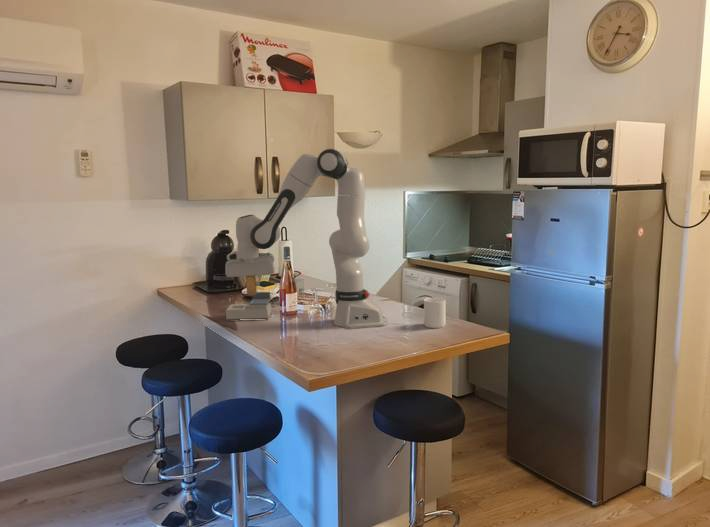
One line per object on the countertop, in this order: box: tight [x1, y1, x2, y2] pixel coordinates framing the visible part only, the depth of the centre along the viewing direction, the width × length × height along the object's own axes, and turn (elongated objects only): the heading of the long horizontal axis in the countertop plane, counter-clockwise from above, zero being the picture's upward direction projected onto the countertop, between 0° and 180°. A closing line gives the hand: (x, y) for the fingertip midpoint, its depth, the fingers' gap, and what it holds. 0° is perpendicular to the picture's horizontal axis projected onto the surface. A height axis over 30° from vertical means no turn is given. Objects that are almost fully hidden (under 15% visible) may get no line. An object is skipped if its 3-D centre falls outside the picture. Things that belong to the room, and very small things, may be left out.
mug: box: [423, 297, 447, 329], centre depth 219 cm, size 9×12×11 cm
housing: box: [225, 302, 272, 321], centre depth 240 cm, size 18×11×6 cm, turn 91°
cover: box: [248, 291, 271, 305], centre depth 246 cm, size 8×10×4 cm
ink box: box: [294, 278, 305, 294], centre depth 267 cm, size 9×9×12 cm
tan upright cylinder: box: [245, 276, 258, 296], centre depth 228 cm, size 4×4×8 cm
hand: (251, 286), depth 228 cm, fingers closed on tan upright cylinder, 4 cm apart
